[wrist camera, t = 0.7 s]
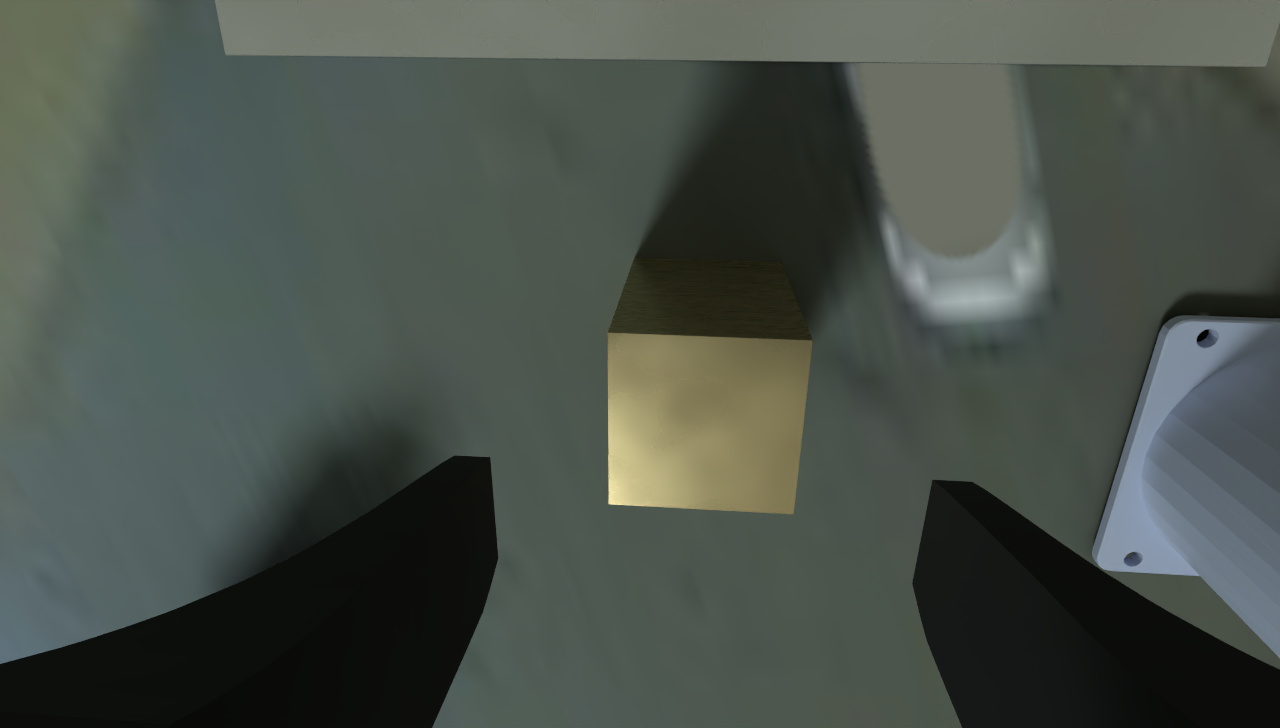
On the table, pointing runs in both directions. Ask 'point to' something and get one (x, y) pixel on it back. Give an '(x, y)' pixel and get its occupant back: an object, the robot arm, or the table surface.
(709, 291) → the brass block
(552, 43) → the grey flat rectangular plate
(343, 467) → the table surface
